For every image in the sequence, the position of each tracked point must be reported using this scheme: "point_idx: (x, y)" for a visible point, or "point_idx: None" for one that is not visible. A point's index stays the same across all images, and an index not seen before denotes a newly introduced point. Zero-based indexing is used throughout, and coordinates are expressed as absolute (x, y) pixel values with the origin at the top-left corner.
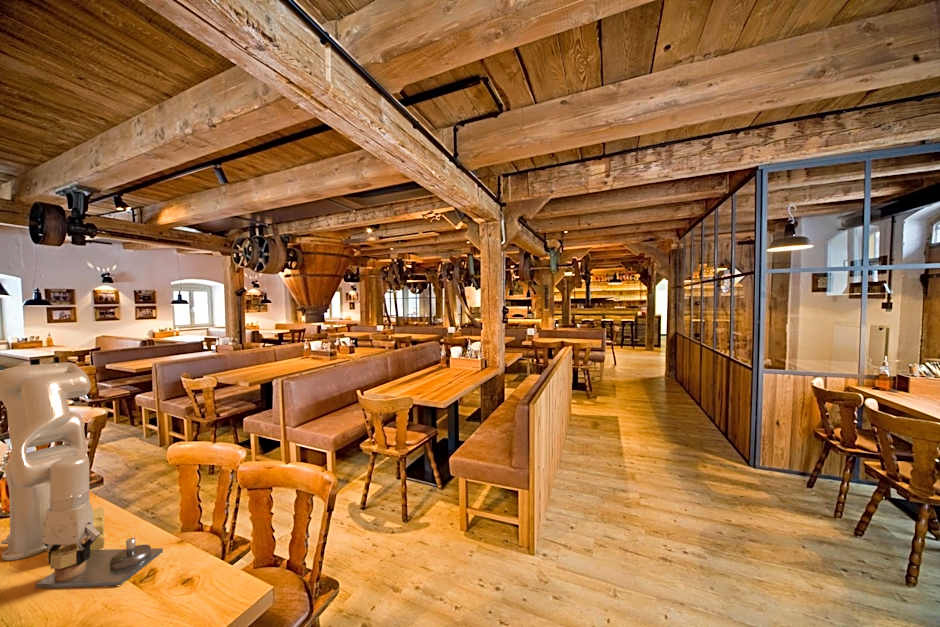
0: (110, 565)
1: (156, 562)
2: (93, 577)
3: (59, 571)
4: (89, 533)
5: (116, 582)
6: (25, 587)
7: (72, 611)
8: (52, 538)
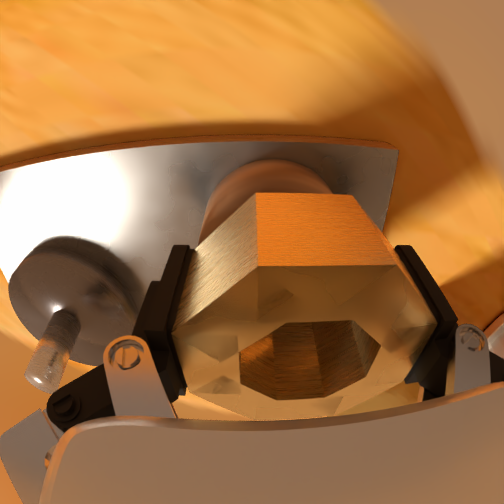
0: (80, 266)
1: (7, 287)
2: (91, 194)
3: (277, 187)
4: (41, 491)
5: None
6: (439, 160)
7: (6, 25)
8: (474, 485)
